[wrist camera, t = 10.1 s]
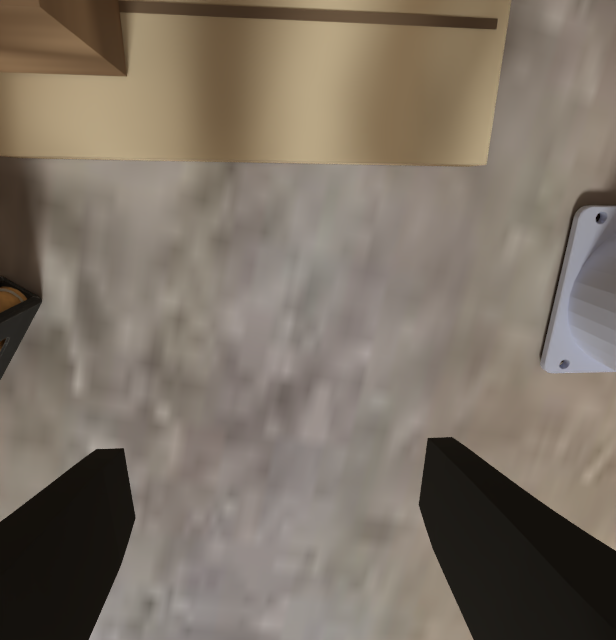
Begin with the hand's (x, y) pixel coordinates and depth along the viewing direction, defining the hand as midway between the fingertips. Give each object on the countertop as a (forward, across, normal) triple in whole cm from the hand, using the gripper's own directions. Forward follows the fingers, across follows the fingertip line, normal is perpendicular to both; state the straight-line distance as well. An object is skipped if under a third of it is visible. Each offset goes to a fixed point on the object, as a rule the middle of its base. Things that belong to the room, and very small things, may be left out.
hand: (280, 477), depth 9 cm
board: (+9, +1, -12) cm, 15 cm away
